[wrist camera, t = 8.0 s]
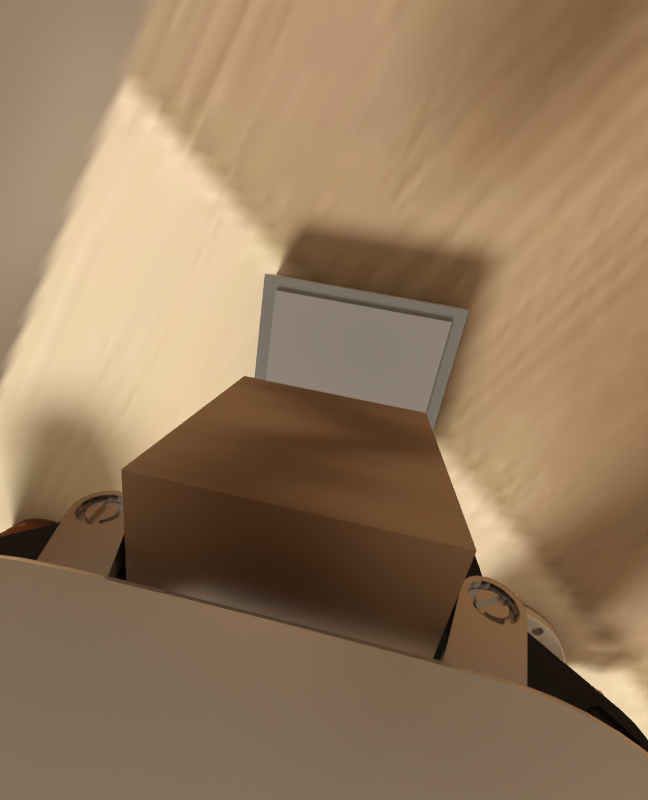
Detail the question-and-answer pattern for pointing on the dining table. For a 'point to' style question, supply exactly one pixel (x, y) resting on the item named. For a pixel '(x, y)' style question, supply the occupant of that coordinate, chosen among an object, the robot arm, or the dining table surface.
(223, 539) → the cube
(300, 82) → the dining table surface
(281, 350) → the tray
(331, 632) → the robot arm
